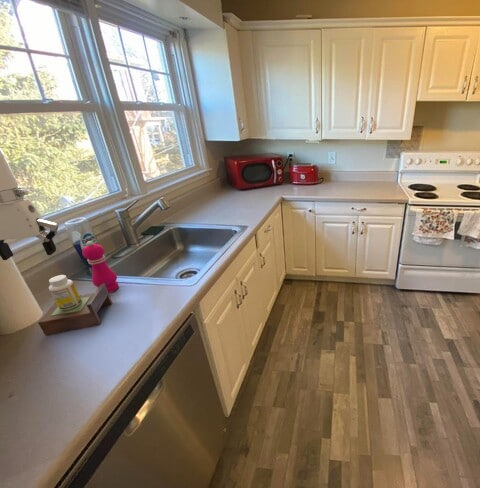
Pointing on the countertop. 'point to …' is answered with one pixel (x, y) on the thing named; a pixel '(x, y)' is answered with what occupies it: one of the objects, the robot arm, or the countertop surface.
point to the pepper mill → (100, 267)
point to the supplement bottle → (64, 292)
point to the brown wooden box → (76, 313)
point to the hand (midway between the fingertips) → (30, 255)
